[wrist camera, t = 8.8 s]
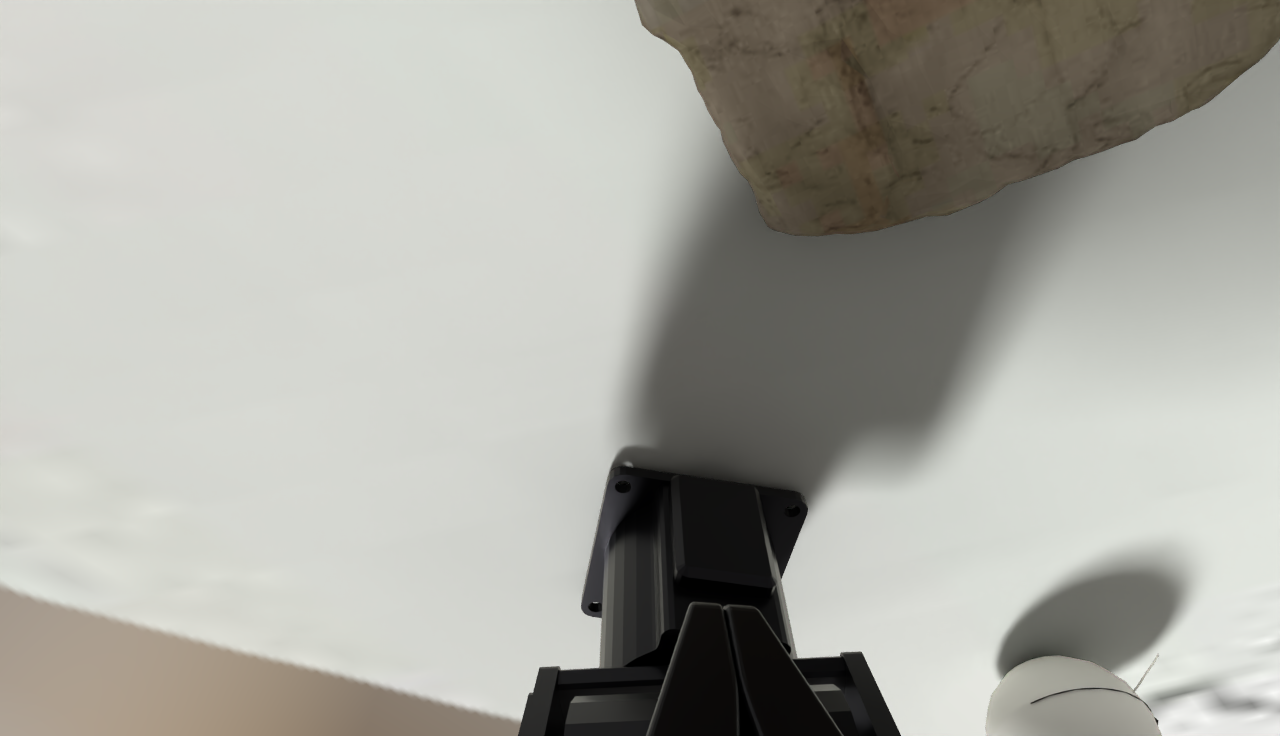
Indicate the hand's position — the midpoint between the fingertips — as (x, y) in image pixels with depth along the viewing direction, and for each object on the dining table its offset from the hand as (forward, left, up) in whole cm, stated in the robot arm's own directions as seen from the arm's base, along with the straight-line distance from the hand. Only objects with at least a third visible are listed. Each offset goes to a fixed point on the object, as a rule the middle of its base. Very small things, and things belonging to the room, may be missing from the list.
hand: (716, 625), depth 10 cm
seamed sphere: (-14, -18, -13) cm, 26 cm away
